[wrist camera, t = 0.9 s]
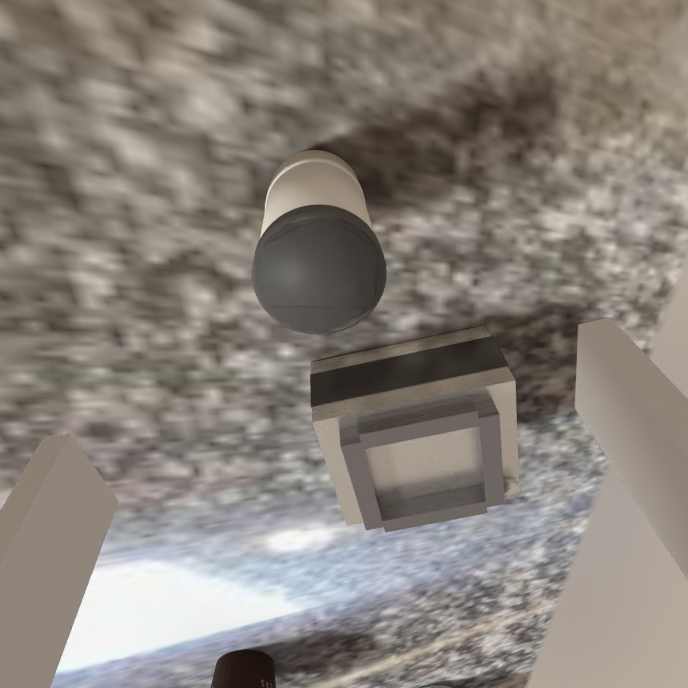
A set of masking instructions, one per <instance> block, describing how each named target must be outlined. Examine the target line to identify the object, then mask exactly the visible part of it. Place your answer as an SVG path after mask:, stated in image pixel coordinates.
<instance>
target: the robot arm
mask: <svg viewBox="0 0 688 688" xmlns="http://www.w3.org/2000/svg"><path fill="white" fill-rule="evenodd" d="M575 409H576V411H577V412H578V414H579V415H580V417H581V418H582V420H583V421H584V423H585V424H586V426H587V428H588V429H589V431H590V432H591V434H592V435H593V437H594V438H595V440H596V441H597V443H598V444H599V446H600V447H601V449H602V450H603V452H604V453H605V455H606V457H607V458H608V460H609V461H610V463H611V464H612V466H613V467H614V469H615V470H616V472H617V473H618V475H619V476H620V478H621V479H622V481H623V482H624V484H625V485H626V487H627V489H628V490H629V492H630V493H631V495H632V496H633V498H634V499H635V501H636V502H637V504H638V505H639V507H640V508H641V510H642V511H643V513H644V515H645V516H646V518H647V519H648V521H649V522H650V524H651V525H652V527H653V528H654V530H655V531H656V533H657V534H658V536H659V537H660V539H661V541H662V542H663V544H664V545H665V547H666V548H667V550H668V551H669V553H670V554H671V556H672V557H673V559H674V560H675V562H676V563H677V565H678V566H679V568H680V569H681V571H682V573H683V574H684V576H685V577H686V579H687V580H688V399H687V398H686V397H685V396H684V395H683V394H682V393H681V391H679V389H678V388H677V387H676V386H675V385H674V384H673V383H672V382H671V381H670V380H669V379H668V378H667V377H666V376H665V375H664V374H663V373H662V372H661V370H660V369H659V368H658V367H657V366H656V365H655V364H654V363H653V362H652V361H651V360H650V359H649V358H648V357H647V356H646V355H645V354H644V352H643V351H642V350H641V349H640V348H639V347H638V346H637V345H636V344H635V343H634V342H633V341H632V340H631V339H630V338H629V337H628V336H627V335H626V334H625V332H624V331H623V330H622V329H621V328H620V327H619V326H618V325H617V324H616V323H615V322H614V321H613V320H612V319H611V318H606V319H602V320H597V321H592V322H588V323H583V324H578V346H577V368H576V390H575ZM117 504H118V499H117V498H116V497H115V495H114V494H113V493H112V491H111V490H110V488H109V487H108V486H107V484H106V483H105V481H104V480H103V479H102V477H101V476H100V474H99V473H98V472H97V470H96V469H95V468H94V466H93V465H92V463H91V462H90V461H89V459H88V458H87V456H86V455H85V454H84V452H83V451H82V449H81V448H80V447H79V445H78V444H77V443H76V441H75V440H74V438H73V437H72V436H71V434H65V435H61V436H56V437H51V438H47V439H42V441H41V443H40V444H39V446H38V448H37V449H36V451H35V453H34V455H33V456H32V458H31V460H30V461H29V463H28V465H27V466H26V468H25V470H24V471H23V473H22V475H21V477H20V478H19V480H18V482H17V483H16V485H15V487H14V488H13V490H12V492H11V494H10V495H9V497H8V499H7V500H6V502H5V504H4V505H3V507H2V509H1V511H0V688H50V686H51V683H52V681H53V678H54V675H55V673H56V670H57V667H58V664H59V662H60V659H61V656H62V653H63V651H64V648H65V645H66V643H67V640H68V637H69V634H70V632H71V629H72V626H73V623H74V621H75V618H76V615H77V613H78V610H79V607H80V604H81V602H82V599H83V596H84V593H85V591H86V588H87V585H88V583H89V580H90V577H91V574H92V572H93V569H94V566H95V563H96V561H97V558H98V555H99V553H100V550H101V547H102V544H103V542H104V539H105V536H106V534H107V531H108V528H109V525H110V523H111V520H112V517H113V514H114V512H115V509H116V506H117Z"/></svg>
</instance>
